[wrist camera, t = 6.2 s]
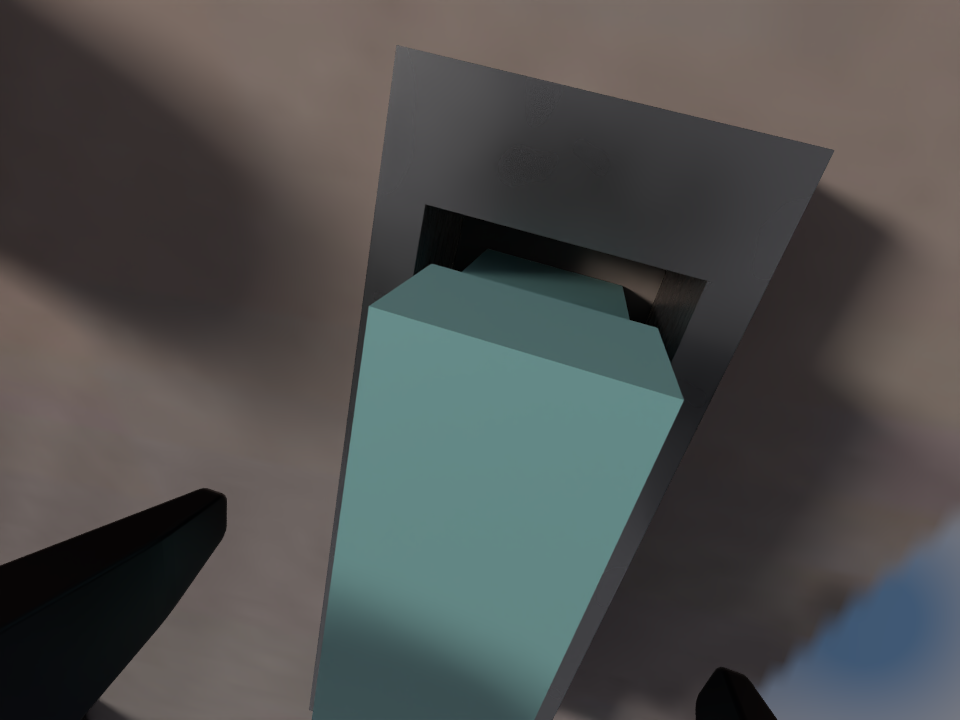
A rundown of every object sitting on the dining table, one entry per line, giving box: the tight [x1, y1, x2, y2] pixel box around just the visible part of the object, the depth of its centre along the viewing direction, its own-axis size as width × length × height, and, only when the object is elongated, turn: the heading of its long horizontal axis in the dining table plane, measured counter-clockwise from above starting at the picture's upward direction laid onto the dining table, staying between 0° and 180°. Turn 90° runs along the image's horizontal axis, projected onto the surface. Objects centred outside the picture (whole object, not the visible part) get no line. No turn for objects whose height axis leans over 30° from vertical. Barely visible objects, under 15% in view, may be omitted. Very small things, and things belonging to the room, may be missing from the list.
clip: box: [312, 249, 684, 720], centre depth 10 cm, size 11×3×6 cm, turn 167°
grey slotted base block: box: [309, 45, 834, 720], centre depth 11 cm, size 16×6×3 cm, turn 167°
